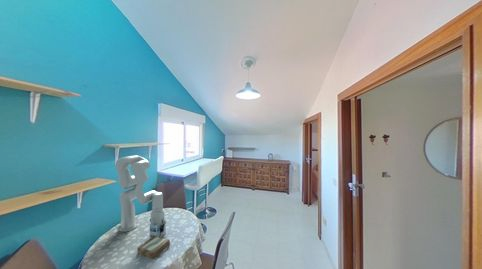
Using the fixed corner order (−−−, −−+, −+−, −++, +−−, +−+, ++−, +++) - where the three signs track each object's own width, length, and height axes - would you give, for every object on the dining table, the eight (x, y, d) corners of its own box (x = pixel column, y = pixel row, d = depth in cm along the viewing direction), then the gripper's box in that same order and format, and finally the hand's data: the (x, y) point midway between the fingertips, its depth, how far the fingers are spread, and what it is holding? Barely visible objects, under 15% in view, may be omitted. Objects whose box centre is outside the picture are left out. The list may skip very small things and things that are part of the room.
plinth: (137, 253, 113) (137, 247, 113) (154, 240, 126) (154, 235, 126) (153, 259, 108) (153, 252, 108) (169, 245, 121) (169, 239, 121)
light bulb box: (157, 240, 127) (156, 225, 126) (149, 238, 128) (149, 224, 128) (166, 231, 137) (166, 218, 137) (158, 230, 139) (158, 217, 138)
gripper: (145, 209, 131) (145, 231, 132) (162, 213, 125) (162, 236, 126) (153, 204, 138) (153, 226, 139) (170, 208, 132) (170, 230, 133)
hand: (157, 230), depth 132 cm, fingers closed on light bulb box, 7 cm apart
